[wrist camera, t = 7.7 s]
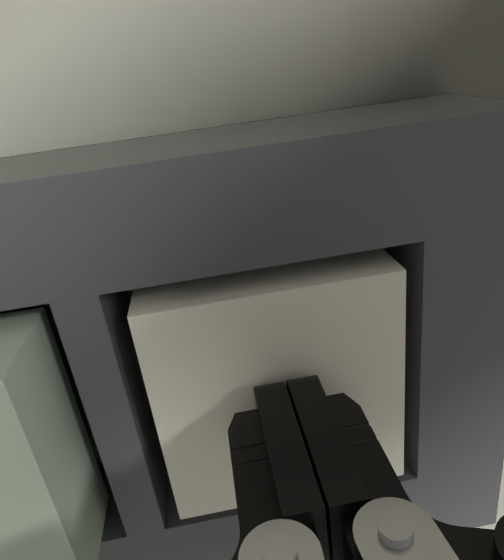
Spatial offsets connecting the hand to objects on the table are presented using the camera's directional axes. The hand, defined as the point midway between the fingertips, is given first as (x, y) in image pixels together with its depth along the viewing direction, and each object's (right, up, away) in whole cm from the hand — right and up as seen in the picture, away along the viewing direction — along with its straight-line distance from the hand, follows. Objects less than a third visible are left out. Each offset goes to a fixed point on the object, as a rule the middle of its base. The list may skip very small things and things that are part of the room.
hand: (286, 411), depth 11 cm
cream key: (0, +1, +3) cm, 3 cm away
